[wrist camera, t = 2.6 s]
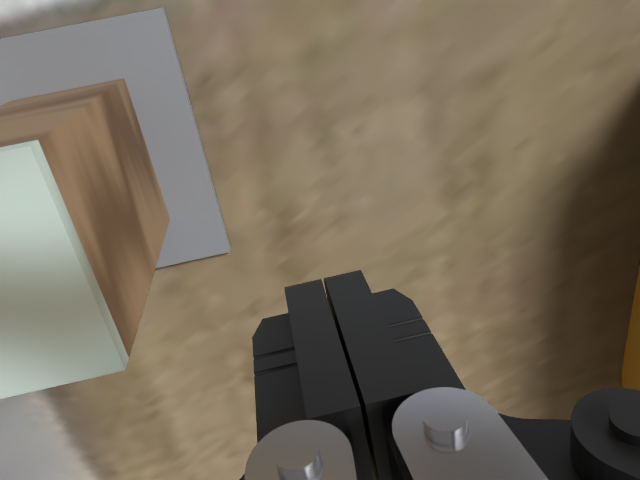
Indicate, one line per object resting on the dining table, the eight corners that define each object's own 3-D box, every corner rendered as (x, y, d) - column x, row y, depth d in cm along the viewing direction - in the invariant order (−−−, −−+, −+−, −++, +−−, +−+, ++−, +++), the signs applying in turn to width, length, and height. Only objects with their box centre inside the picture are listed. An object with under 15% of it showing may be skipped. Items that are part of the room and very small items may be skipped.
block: (11, 100, 23) (-184, 188, 12) (124, 78, 24) (29, 145, 13) (71, 240, 26) (-44, 409, 15) (170, 219, 27) (125, 370, 16)
